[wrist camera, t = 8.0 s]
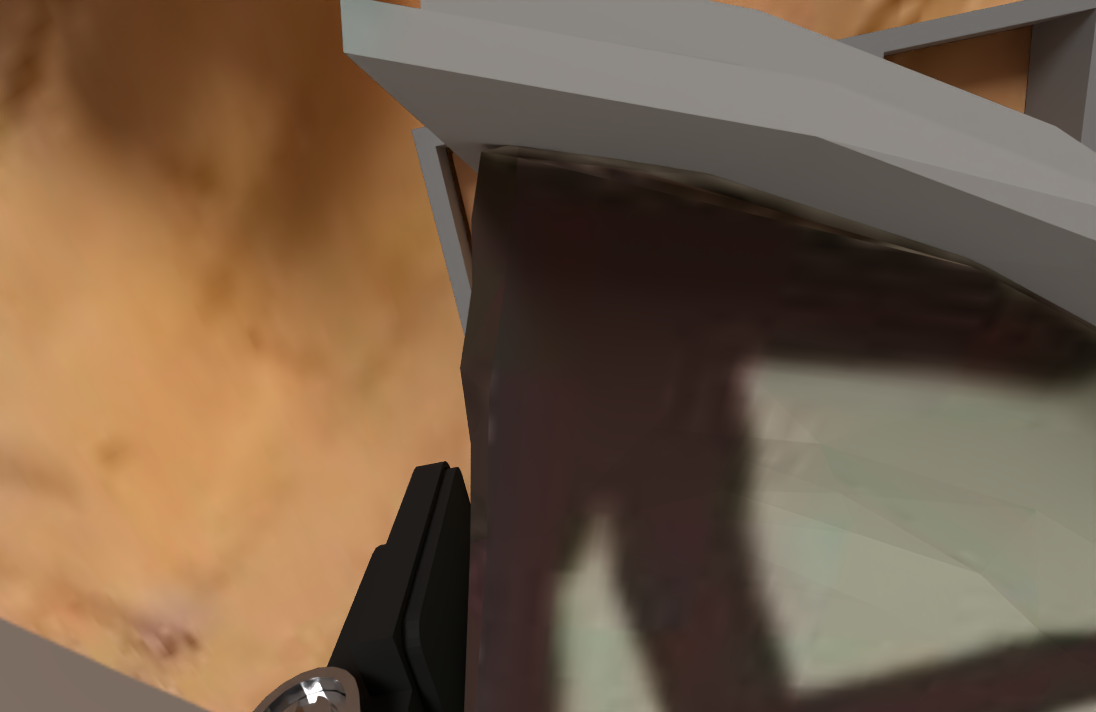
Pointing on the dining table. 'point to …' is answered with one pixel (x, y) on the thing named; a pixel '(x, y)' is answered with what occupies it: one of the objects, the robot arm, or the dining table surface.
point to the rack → (1054, 69)
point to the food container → (759, 365)
